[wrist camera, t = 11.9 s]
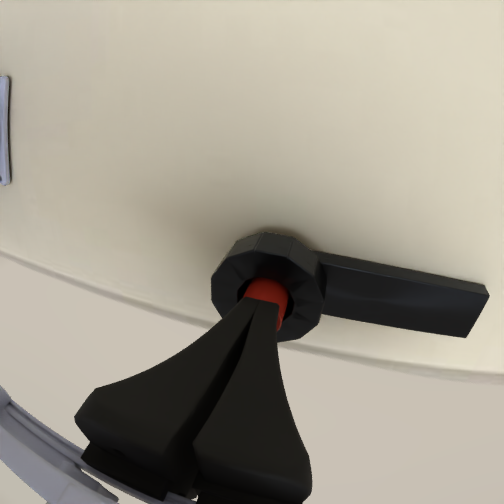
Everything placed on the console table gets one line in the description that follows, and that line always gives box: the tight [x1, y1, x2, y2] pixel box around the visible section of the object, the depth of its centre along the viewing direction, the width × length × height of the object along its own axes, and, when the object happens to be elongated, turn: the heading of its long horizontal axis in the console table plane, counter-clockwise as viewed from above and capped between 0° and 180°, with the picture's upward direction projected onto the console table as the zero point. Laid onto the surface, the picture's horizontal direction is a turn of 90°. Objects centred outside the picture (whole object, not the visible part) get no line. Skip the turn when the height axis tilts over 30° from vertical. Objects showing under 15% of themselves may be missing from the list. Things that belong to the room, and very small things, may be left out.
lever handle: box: [211, 232, 490, 343], centre depth 13 cm, size 13×5×2 cm, turn 86°
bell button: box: [243, 277, 289, 331], centre depth 13 cm, size 2×2×2 cm
